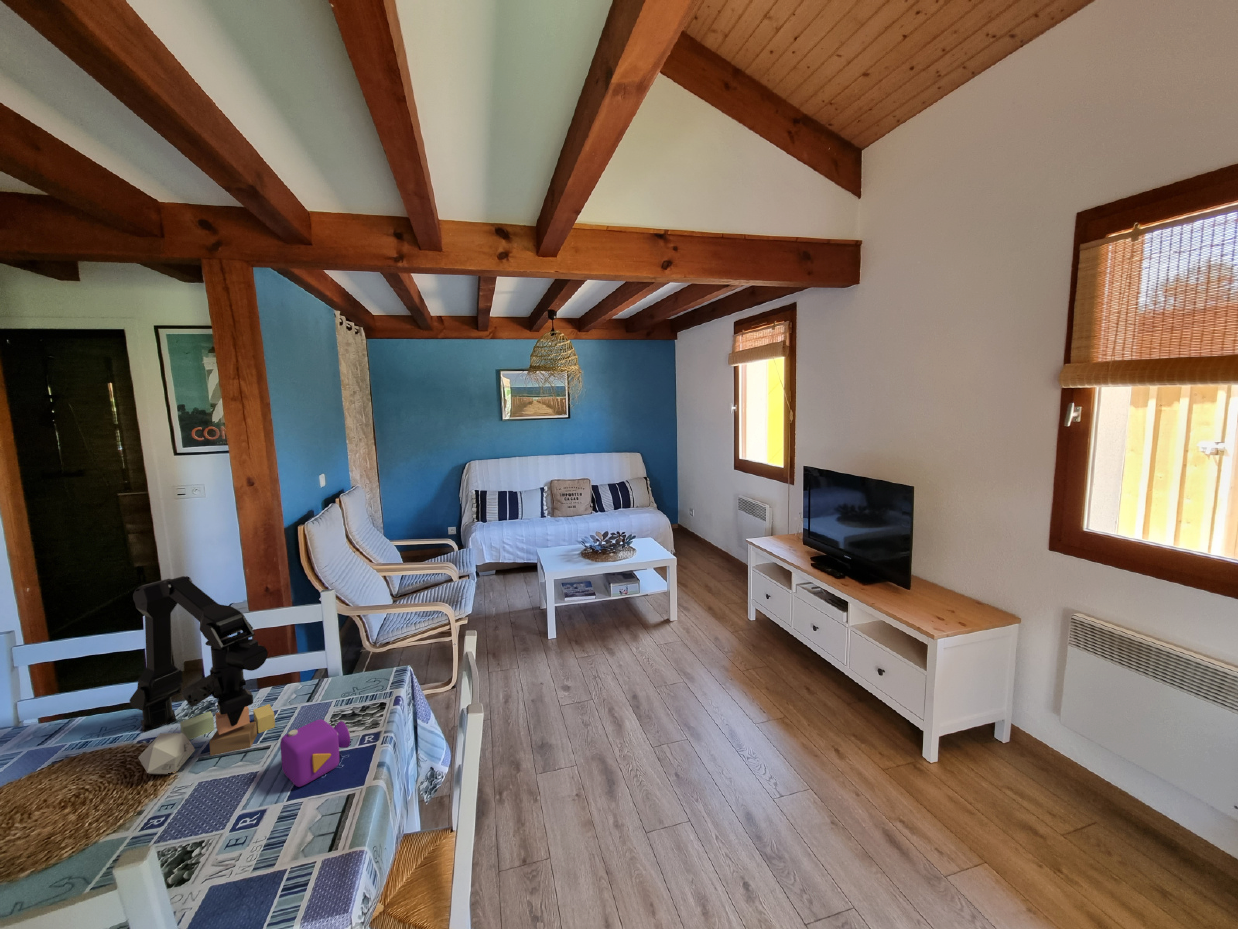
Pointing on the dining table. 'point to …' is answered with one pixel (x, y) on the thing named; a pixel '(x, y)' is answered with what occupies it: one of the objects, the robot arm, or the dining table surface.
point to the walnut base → (233, 739)
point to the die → (166, 753)
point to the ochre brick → (264, 718)
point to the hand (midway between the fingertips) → (232, 722)
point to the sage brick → (197, 725)
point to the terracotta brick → (224, 723)
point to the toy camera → (312, 750)
